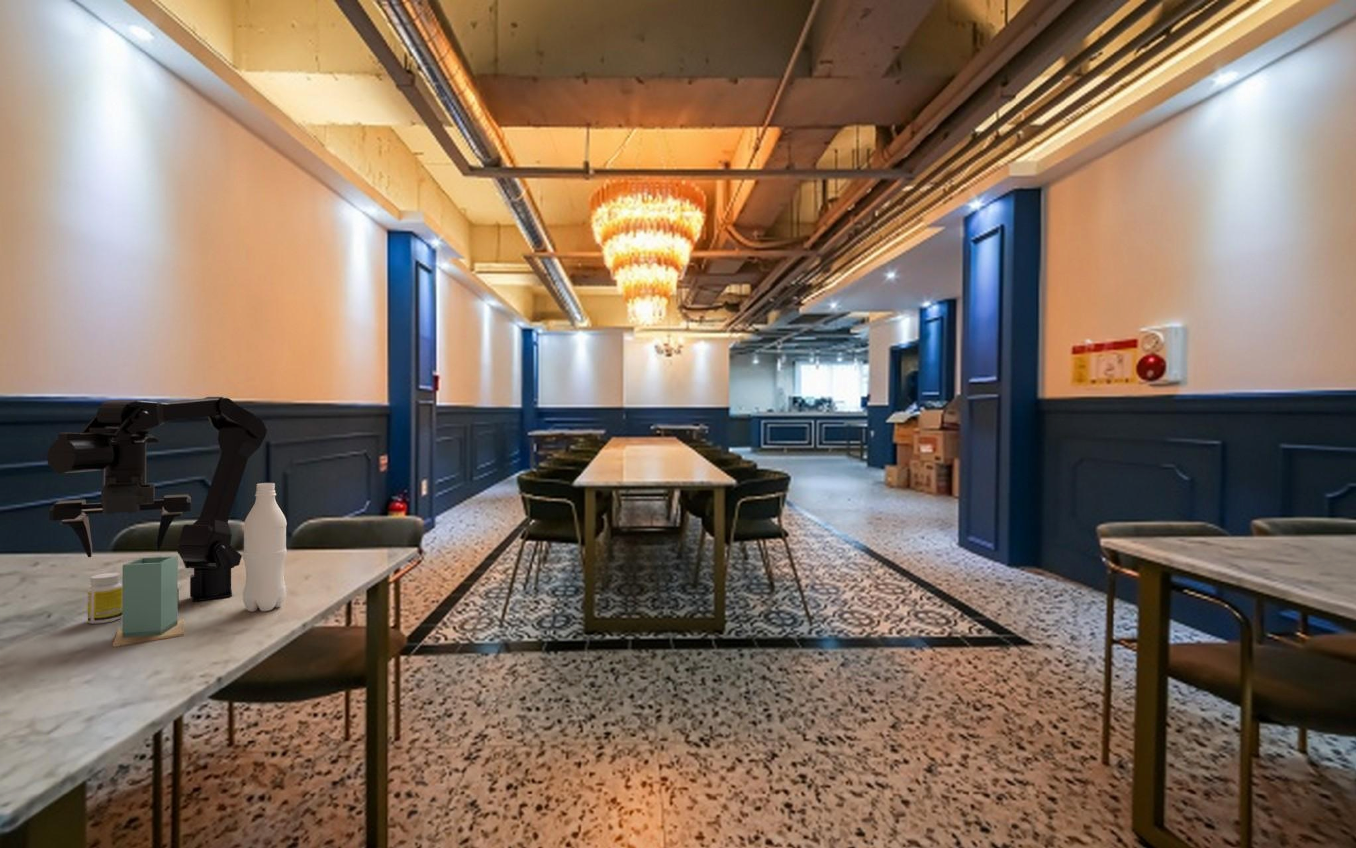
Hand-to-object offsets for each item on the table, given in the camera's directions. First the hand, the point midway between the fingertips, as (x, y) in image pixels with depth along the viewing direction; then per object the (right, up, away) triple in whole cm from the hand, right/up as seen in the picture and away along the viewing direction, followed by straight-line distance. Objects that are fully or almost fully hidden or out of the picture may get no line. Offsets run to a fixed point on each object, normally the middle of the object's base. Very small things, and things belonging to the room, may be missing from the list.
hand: (124, 553), depth 110 cm
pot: (+9, -13, -4) cm, 16 cm away
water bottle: (+19, -13, +10) cm, 25 cm away
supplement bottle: (-6, -13, +2) cm, 14 cm away
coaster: (+9, -13, -4) cm, 16 cm away
